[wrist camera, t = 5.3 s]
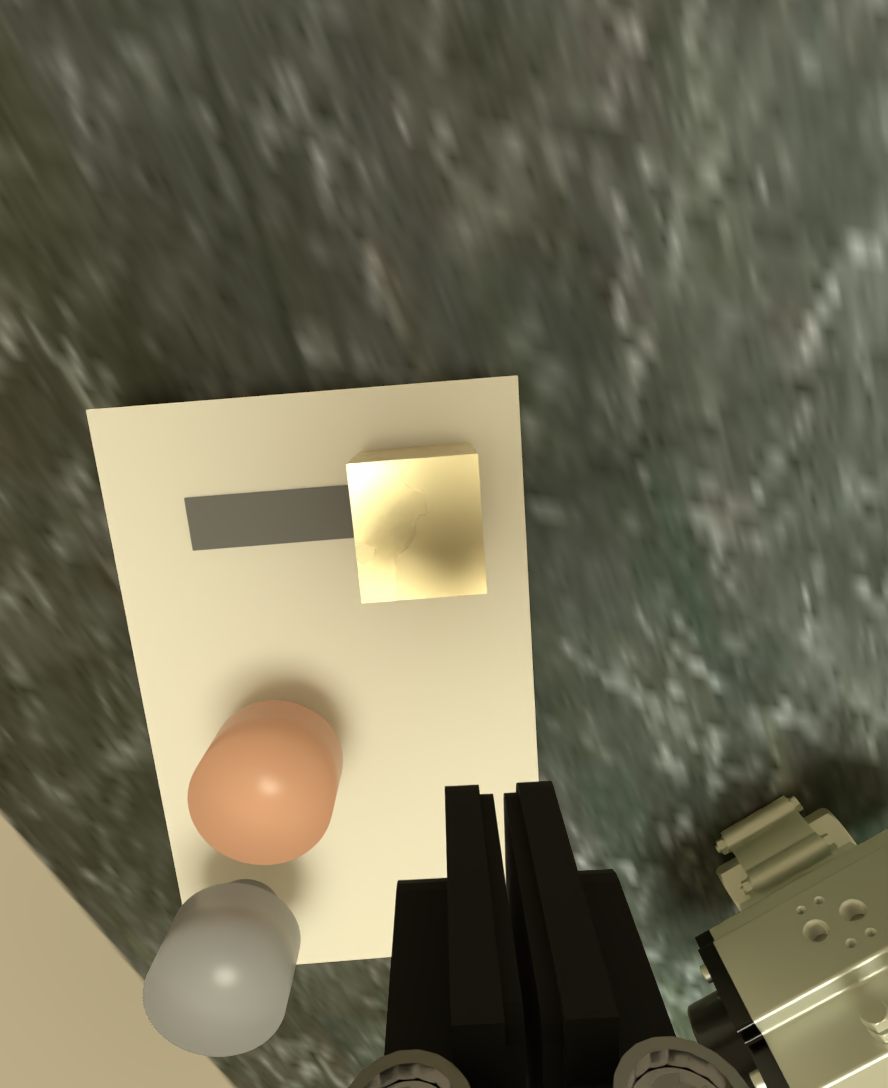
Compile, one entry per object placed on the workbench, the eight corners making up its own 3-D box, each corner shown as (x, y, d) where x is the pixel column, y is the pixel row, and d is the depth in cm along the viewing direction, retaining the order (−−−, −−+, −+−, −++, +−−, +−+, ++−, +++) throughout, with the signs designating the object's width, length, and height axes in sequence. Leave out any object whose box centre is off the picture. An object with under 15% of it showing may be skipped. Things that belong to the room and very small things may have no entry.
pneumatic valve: (911, 808, 29) (1230, 1087, 18) (678, 940, 31) (831, 1282, 19) (854, 712, 28) (1154, 942, 17) (614, 854, 30) (735, 1160, 18)
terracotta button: (340, 677, 24) (323, 731, 20) (354, 788, 25) (340, 859, 21) (215, 687, 24) (176, 742, 20) (234, 798, 25) (199, 870, 21)
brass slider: (470, 442, 22) (477, 453, 18) (478, 561, 23) (487, 593, 19) (359, 451, 22) (346, 464, 18) (372, 570, 23) (361, 603, 19)
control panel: (507, 376, 25) (517, 374, 22) (535, 889, 30) (547, 946, 27) (126, 407, 25) (84, 410, 22) (218, 915, 30) (194, 974, 27)
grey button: (300, 850, 24) (276, 934, 20) (314, 952, 25) (294, 1050, 21) (176, 859, 24) (130, 945, 20) (196, 962, 25) (156, 1061, 21)
